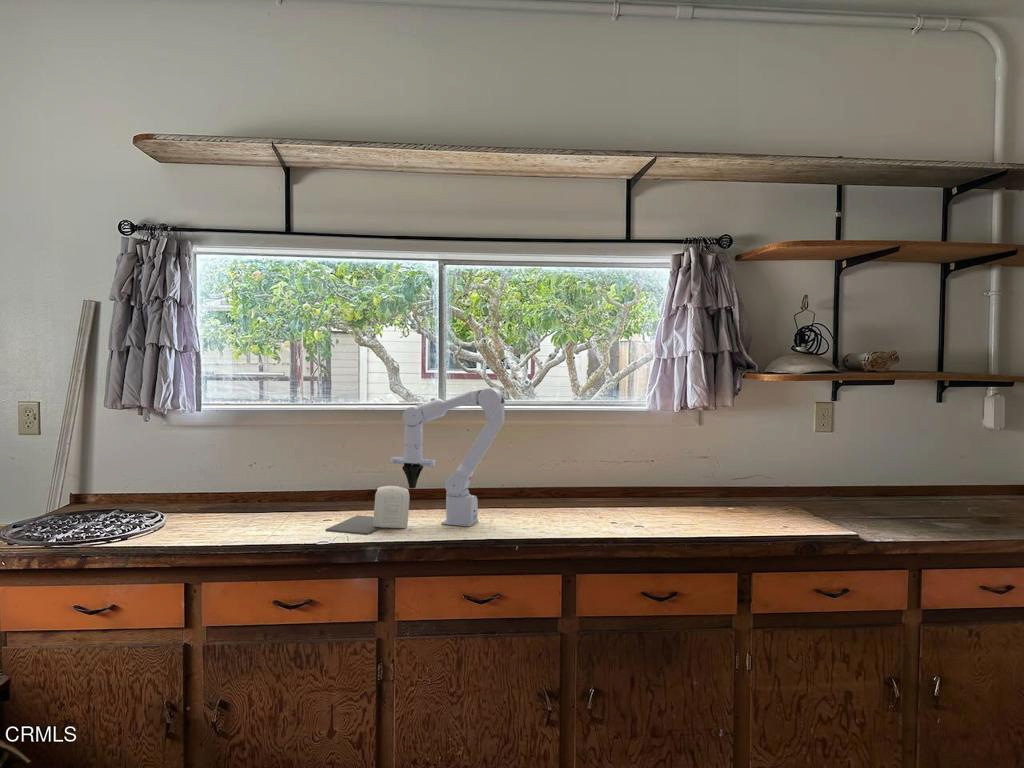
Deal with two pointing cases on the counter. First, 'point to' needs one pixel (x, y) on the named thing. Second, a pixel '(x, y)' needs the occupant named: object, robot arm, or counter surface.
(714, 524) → the counter surface
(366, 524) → the mat
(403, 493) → the photo printer
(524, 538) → the counter surface
